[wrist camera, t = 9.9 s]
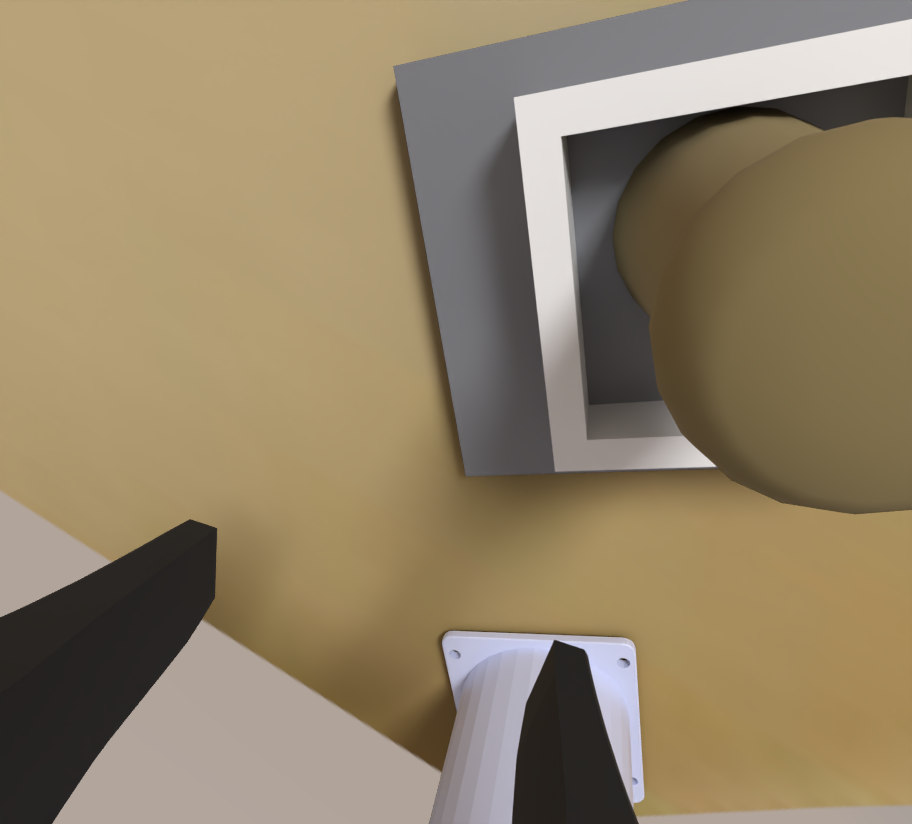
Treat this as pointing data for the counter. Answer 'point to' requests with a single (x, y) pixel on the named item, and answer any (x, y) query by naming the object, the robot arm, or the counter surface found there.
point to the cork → (781, 300)
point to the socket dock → (599, 202)
